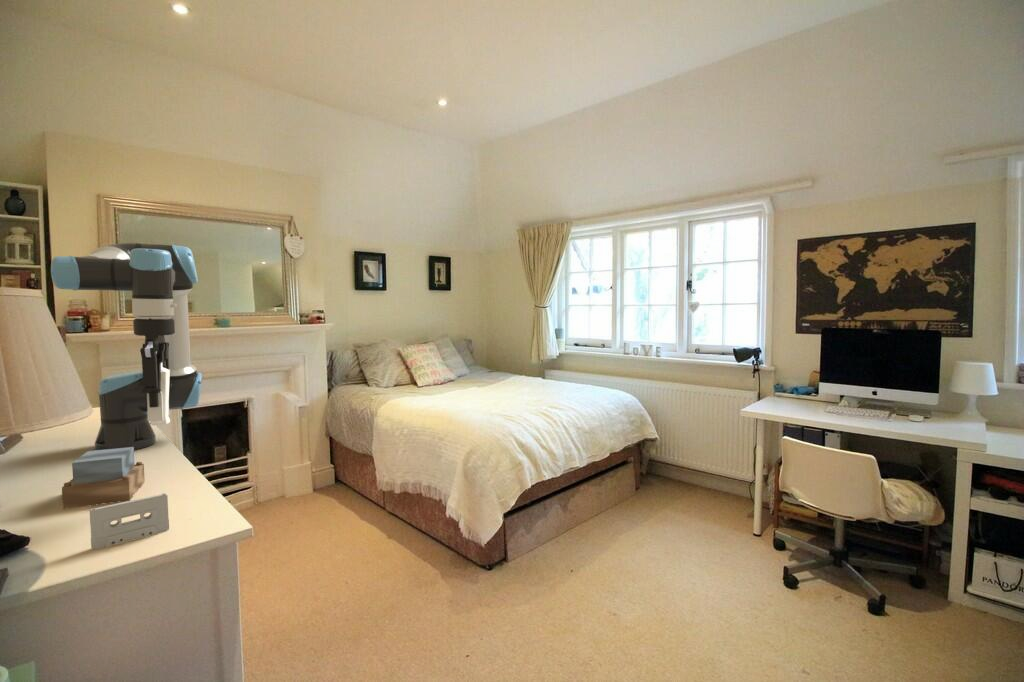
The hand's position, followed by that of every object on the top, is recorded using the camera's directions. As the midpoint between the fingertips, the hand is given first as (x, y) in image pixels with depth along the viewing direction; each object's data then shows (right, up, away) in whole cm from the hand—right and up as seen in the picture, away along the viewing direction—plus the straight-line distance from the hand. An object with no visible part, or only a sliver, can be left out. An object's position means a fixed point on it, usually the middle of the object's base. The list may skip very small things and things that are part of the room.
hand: (158, 417), depth 109 cm
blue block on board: (-16, -19, +4) cm, 25 cm away
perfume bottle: (0, -2, 0) cm, 1 cm away
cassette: (+7, -22, -16) cm, 28 cm away
